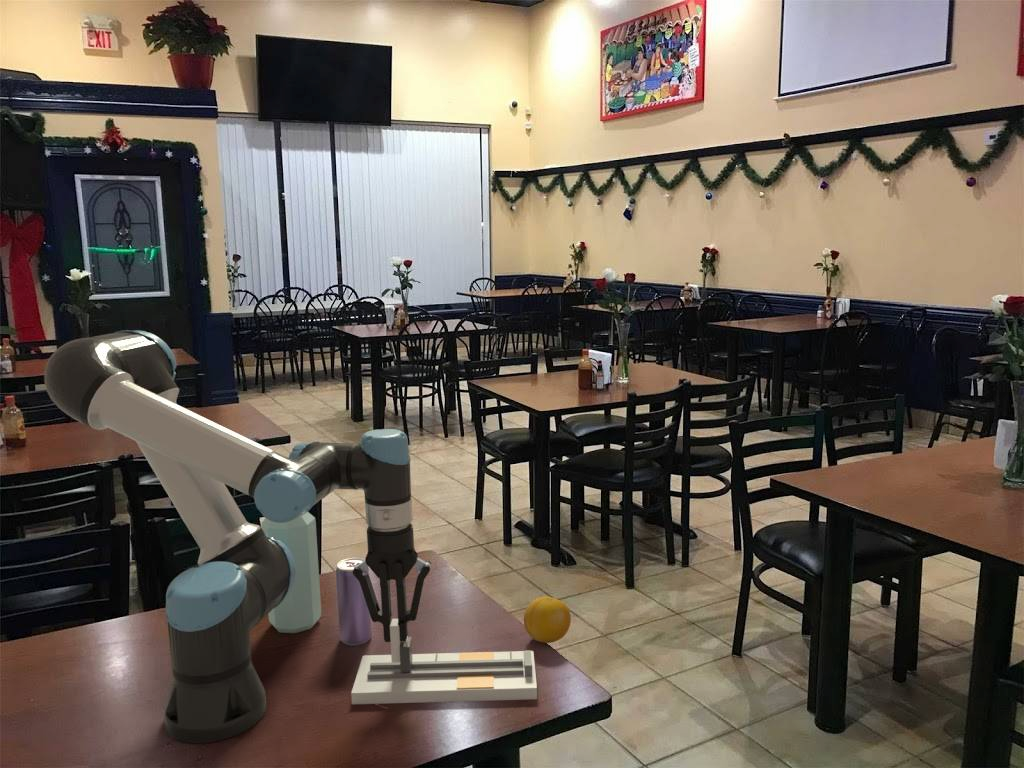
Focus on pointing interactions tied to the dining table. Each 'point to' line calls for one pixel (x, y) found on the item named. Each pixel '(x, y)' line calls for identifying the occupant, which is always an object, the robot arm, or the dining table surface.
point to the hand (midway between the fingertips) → (397, 658)
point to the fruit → (547, 619)
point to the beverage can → (352, 605)
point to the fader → (406, 655)
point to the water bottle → (298, 574)
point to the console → (446, 678)
